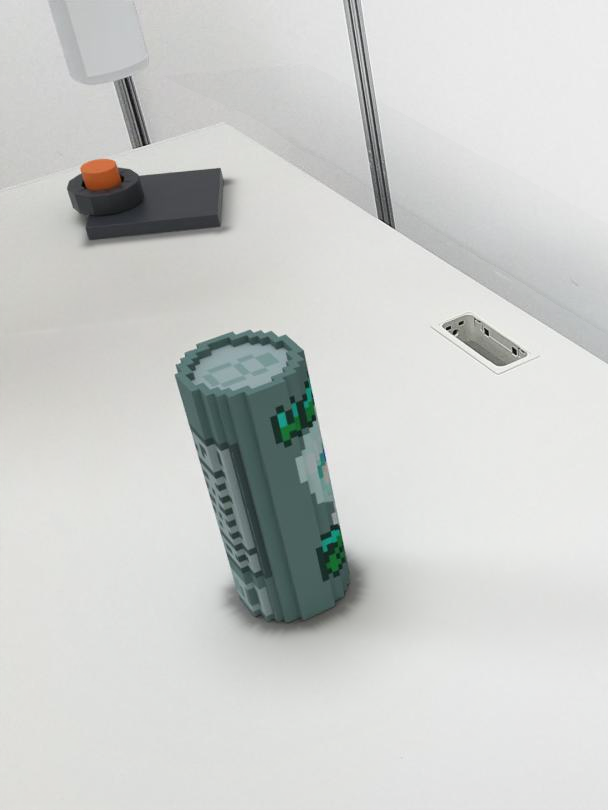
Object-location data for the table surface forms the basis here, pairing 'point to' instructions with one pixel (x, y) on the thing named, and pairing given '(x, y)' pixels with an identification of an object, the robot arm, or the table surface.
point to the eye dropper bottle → (100, 39)
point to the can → (266, 471)
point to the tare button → (100, 174)
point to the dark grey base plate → (150, 203)
